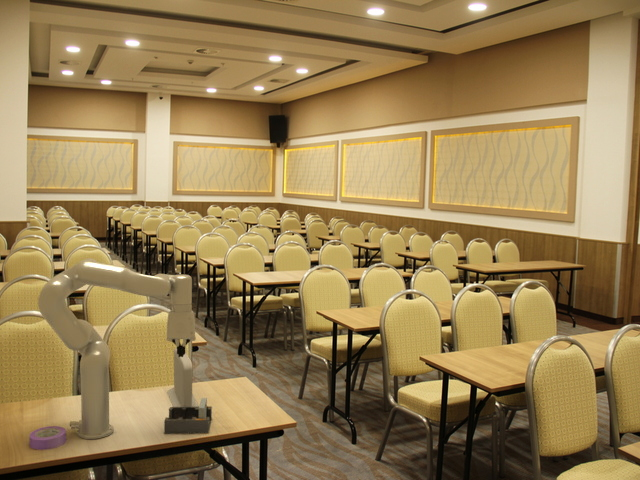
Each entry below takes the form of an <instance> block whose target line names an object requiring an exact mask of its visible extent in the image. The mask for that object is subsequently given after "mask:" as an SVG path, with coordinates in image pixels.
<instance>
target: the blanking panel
mask: <svg viewBox="0 0 640 480" xmlns="http://www.w3.org/2000/svg"><path fill="white" fill-rule="evenodd" d="M207 399H208V398H207V397H201V398H200V403H199V404H198V405H199V419H205V418H206V417H207V406H208V404H207V403H208V400H207Z"/></svg>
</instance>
